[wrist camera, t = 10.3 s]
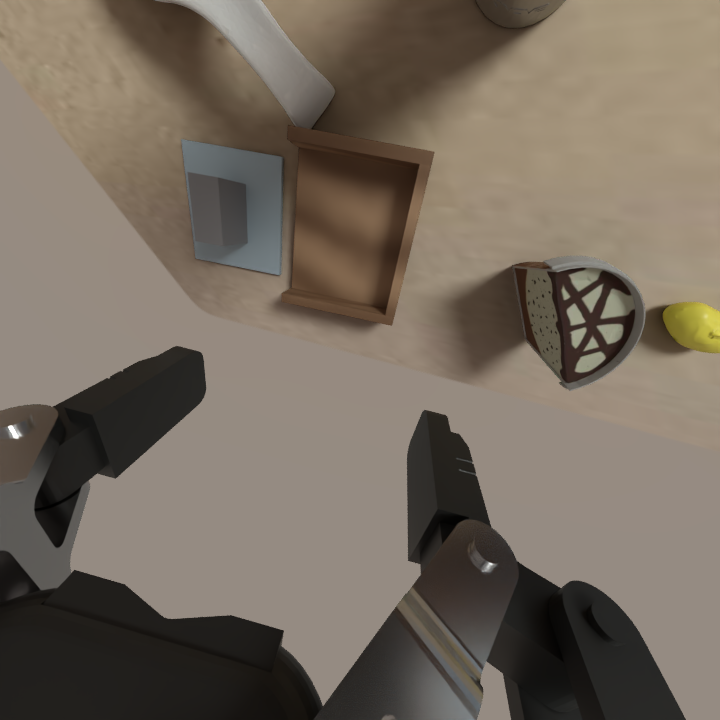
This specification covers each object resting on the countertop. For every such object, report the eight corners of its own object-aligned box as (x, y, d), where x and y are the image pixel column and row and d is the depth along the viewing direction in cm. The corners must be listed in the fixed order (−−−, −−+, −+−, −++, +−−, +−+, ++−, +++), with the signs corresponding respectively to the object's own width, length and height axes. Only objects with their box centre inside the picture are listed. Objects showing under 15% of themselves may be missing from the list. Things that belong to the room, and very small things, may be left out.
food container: (583, 335, 32) (653, 378, 23) (526, 350, 34) (570, 395, 25) (574, 227, 27) (657, 229, 18) (509, 252, 29) (556, 264, 20)
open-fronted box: (303, 137, 27) (287, 125, 24) (430, 161, 26) (434, 151, 23) (294, 293, 35) (281, 301, 31) (393, 315, 34) (391, 325, 30)
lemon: (681, 286, 28) (719, 295, 25) (729, 328, 29) (772, 342, 26) (640, 317, 30) (671, 329, 27) (687, 356, 31) (723, 372, 28)
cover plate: (187, 141, 29) (139, 123, 24) (285, 158, 29) (258, 144, 23) (200, 257, 35) (164, 263, 29) (282, 273, 34) (260, 283, 29)
